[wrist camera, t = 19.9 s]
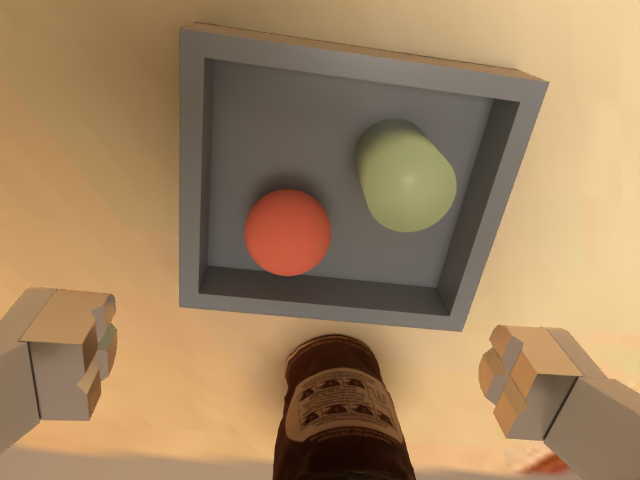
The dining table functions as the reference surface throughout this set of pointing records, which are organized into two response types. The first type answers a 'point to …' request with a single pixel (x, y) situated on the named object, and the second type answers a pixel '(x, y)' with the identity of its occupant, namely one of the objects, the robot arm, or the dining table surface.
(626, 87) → the dining table surface
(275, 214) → the red ball
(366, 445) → the coffee cup
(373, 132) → the pale green capsule
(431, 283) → the bin
